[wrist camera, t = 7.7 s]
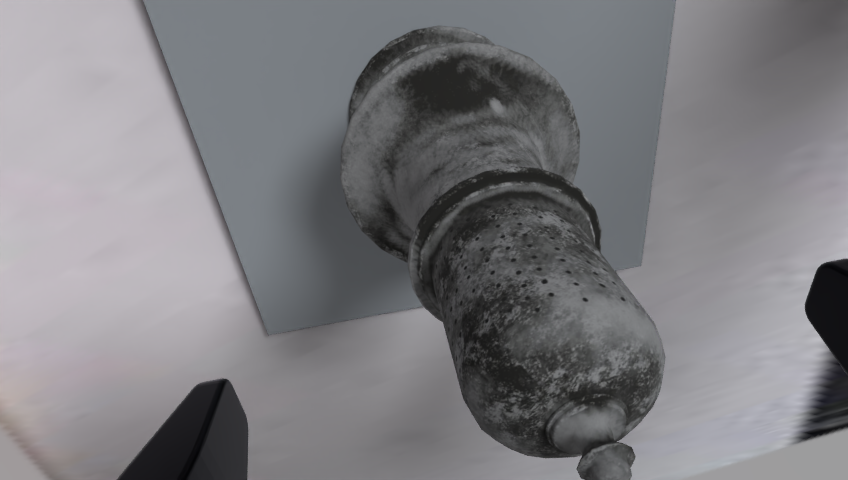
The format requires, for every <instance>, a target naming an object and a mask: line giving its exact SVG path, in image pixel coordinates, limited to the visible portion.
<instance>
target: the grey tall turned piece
mask: <svg viewBox="0 0 848 480" xmlns="http://www.w3.org/2000/svg"><path fill="white" fill-rule="evenodd" d="M579 156H580V131H579V127H578V123H577V120H576V116H575V112H574V109H573V105H572V103H571V101H570V100H569V98H568V97H567V95H566V93H565V92H564V90H563V89H562V87H561V86H560V84H559V83H558V81H557V79H556V78H555V77H553V76H552V75H551V74H550V73H549V72H547V71H546V70H545V69H544V68H542V67H541V66H540V65H539V64H538V63H536V62H535V61H534V60H533V59H532V58H530V57H528V56H525V55H523V54H520V53H518V52H515V51H513V50H510V49H508V48H505V47H503V46H500V45H495V44H494V43H492V42H491V41H490V40H489V39H488V38H486V37H484V36H482V35H480V34H477V33H475V32H472V31H470V30H467V29H465V28H459V27H449V26H439V25H438V26H433V27H427V28H422V29H417V30H413V31H411V32H408V33H406V34H404V35H402V36H400V37H398V38H396V39H394V40H392V41H390V42H389V43H388V44H387V45H386V46H385V47H383V48H382V49H381V50H380V51H379V52H378V53H377V54H375V55H374V56H373V57H372V58H371V59H370V61H369V62H368V64H367V65H366V67H365V68H364V70H363V71H362V73H361V74H360V76H359V78H358V79H357V82H356V85H355V88H354V91H353V94H352V97H351V100H350V110H349V125H348V128H347V131H346V134H345V137H344V140H343V143H342V146H341V167H340V181H341V184H342V188H343V192H344V196H345V200H346V204H347V207H348V209H349V211H350V212H351V214H352V216H353V217H354V219H355V221H356V222H357V224H358V226H359V227H360V229H361V231H362V232H363V233H364V234H365V235H366V236H368V237H369V238H370V239H371V240H372V241H373V242H374V243H375V244H376V245H377V246H378V247H379V248H380V249H382V250H383V251H385V252H387V253H389V254H391V255H393V256H395V257H397V258H398V259H400V260H402V261H404V262H406V263H408V270H409V275H410V279H411V284H412V289H413V290H414V292H415V294H416V295H417V297H418V299H419V300H420V302H421V304H422V305H423V307H425V308H426V309H427V310H428V311H429V312H430V313H431V314H432V315H433V316H435V317H436V318H437V319H438V320H440V321H442V322H443V324H444V327H445V331H446V335H447V339H448V343H449V346H450V350H451V354H452V358H453V361H454V365H455V369H456V373H457V377H458V380H459V384H460V388H461V392H462V395H463V399H464V401H465V403H466V404H467V406H468V408H469V410H470V411H471V413H472V415H473V416H474V418H475V420H476V421H477V423H478V424H479V426H480V428H481V429H482V430H483V431H484V432H486V433H487V434H488V435H490V436H491V437H492V438H493V439H495V440H496V441H498V442H499V443H501V444H503V445H504V446H506V447H508V448H510V449H512V450H514V451H517V452H519V453H522V454H524V455H527V456H534V457H541V458H564V457H577V456H582V458H581V459H580V462H579V464H578V467H577V471H578V473H579V475H580V477H581V478H582V479H584V480H630V478H631V476H632V474H631V469H630V468H631V466H632V464H633V462H634V459H635V454H634V452H633V449H632V447H630V446H628V445H625V444H623V443H619V442H617V441H619V440H620V439H622V438H623V437H624V436H625V435H627V434H628V433H629V432H630V431H631V430H633V429H634V428H635V427H636V426H637V425H638V424H639V423H640V422H641V421H642V419H643V418H644V417H645V416H646V415H647V413H648V412H649V411H650V410H651V408H652V407H653V405H654V403H655V401H656V399H657V397H658V395H659V392H660V388H661V383H662V377H663V370H664V362H665V354H664V350H663V346H662V342H661V339H660V336H659V334H658V331H657V329H656V326H655V324H654V322H653V321H652V319H651V318H650V317H649V315H648V314H647V313H646V311H645V310H644V309H643V307H642V306H641V305H640V303H639V302H638V301H637V299H636V298H635V297H634V296H633V294H632V293H631V292H630V290H629V289H628V288H627V286H626V285H625V284H624V283H623V281H622V280H621V279H620V277H619V276H618V275H617V273H616V272H615V271H614V269H613V268H612V267H611V266H610V264H609V263H608V262H607V260H606V259H605V258H604V256H603V255H602V254H601V226H600V223H599V220H598V216H597V213H596V210H595V208H594V207H593V205H592V204H591V203H590V201H589V200H588V198H587V197H586V195H585V194H584V193H583V191H582V190H581V189H579V188H578V187H577V186H575V185H574V184H573V182H574V178H575V175H576V171H577V168H578V164H579Z"/></svg>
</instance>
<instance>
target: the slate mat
mask: <svg viewBox="0 0 848 480" xmlns="http://www.w3.org/2000/svg"><path fill="white" fill-rule="evenodd" d="M143 2H144V4H145V7H146V10H147V12H148V15H149V18H150V20H151V23H152V26H153V28H154V31H155V34H156V36H157V39H158V42H159V44H160V47H161V50H162V52H163V55H164V58H165V60H166V63H167V66H168V68H169V71H170V74H171V76H172V79H173V82H174V84H175V87H176V90H177V92H178V95H179V98H180V100H181V103H182V106H183V109H184V111H185V114H186V117H187V119H188V122H189V125H190V127H191V130H192V133H193V135H194V138H195V141H196V143H197V146H198V149H199V151H200V154H201V157H202V159H203V162H204V165H205V167H206V170H207V173H208V175H209V178H210V181H211V183H212V186H213V189H214V191H215V194H216V197H217V199H218V202H219V205H220V207H221V210H222V213H223V215H224V218H225V221H226V223H227V226H228V229H229V231H230V234H231V237H232V239H233V242H234V245H235V247H236V250H237V253H238V255H239V258H240V261H241V263H242V266H243V269H244V271H245V274H246V277H247V280H248V282H249V285H250V288H251V290H252V293H253V296H254V298H255V301H256V304H257V306H258V309H259V312H260V314H261V317H262V320H263V322H264V325H265V328H266V330H267V333H268V335H272V334H277V333H283V332H288V331H293V330H299V329H304V328H310V327H315V326H320V325H326V324H331V323H336V322H342V321H347V320H353V319H358V318H363V317H369V316H374V315H380V314H385V313H390V312H396V311H401V310H406V309H412V308H417V307H423V305H422V304H421V302H420V300H419V299H418V297H417V295H416V294H415V292H414V290H413V289H412V284H411V279H410V275H409V270H408V263H406V262H404V261H402V260H400V259H398V258H397V257H395V256H393V255H391V254H389V253H387V252H385V251H383V250H382V249H380V248H379V247H378V246H377V245H376V244H375V243H374V242H373V241H372V240H371V239H370V238H369V237H368V236H366V235H365V234H364V233H363V232H362V231H361V229H360V227H359V226H358V224H357V222H356V221H355V219H354V217H353V216H352V214H351V212H350V211H349V209H348V207H347V204H346V200H345V196H344V192H343V188H342V184H341V181H340V167H341V146H342V143H343V140H344V137H345V134H346V131H347V128H348V125H349V110H350V100H351V97H352V94H353V91H354V88H355V85H356V82H357V79H358V78H359V76H360V74H361V73H362V71H363V70H364V68H365V67H366V65H367V64H368V62H369V61H370V59H371V58H372V57H373V56H374V55H375V54H377V53H378V52H379V51H380V50H381V49H382V48H383V47H385V46H386V45H387V44H388V43H389V42H390V41H392V40H394V39H396V38H398V37H400V36H402V35H404V34H406V33H408V32H411V31H413V30H417V29H422V28H427V27H433V26H438V25H439V26H449V27H459V28H465V29H467V30H470V31H472V32H475V33H477V34H480V35H482V36H484V37H486V38H488V39H489V40H490V41H491V42H492V43H494V44H495V45H500V46H503V47H505V48H508V49H510V50H513V51H515V52H518V53H520V54H523V55H525V56H528V57H530V58H532V59H533V60H534V61H535V62H536V63H538V64H539V65H540V66H541V67H542V68H544V69H545V70H546V71H547V72H549V73H550V74H551V75H552V76H553V77H555V78H556V79H557V81H558V83H559V84H560V86H561V87H562V89H563V90H564V92H565V93H566V95H567V97H568V98H569V100H570V101H571V103H572V105H573V109H574V112H575V116H576V120H577V123H578V127H579V131H580V156H579V164H578V168H577V171H576V175H575V178H574V182H573V184H574V185H575V186H577V187H578V188H579V189H581V190H582V191H583V193H584V194H585V195H586V197H587V198H588V200H589V201H590V203H591V204H592V205H593V207H594V208H595V210H596V213H597V216H598V220H599V223H600V226H601V254H602V255H603V256H604V258H605V259H606V260H607V262H608V263H609V264H610V266H611V267H612V268H613V269H614V271H617V270H622V269H627V268H633V267H638V266H641V263H642V255H643V248H644V240H645V232H646V225H647V217H648V209H649V202H650V194H651V187H652V179H653V171H654V164H655V156H656V148H657V141H658V133H659V125H660V118H661V110H662V102H663V95H664V87H665V80H666V72H667V64H668V57H669V49H670V41H671V34H672V26H673V18H674V11H675V3H676V0H143Z"/></svg>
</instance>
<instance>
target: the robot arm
mask: <svg viewBox="0 0 848 480" xmlns="http://www.w3.org/2000/svg"><path fill="white" fill-rule="evenodd" d="M805 312H806V315H807V318H808V319H809V321H810V323H811V324H812V325H813V327H814V328H815V330H816V331H817V332H818V334H819V335H820V337H821V338H822V340H823V341H824V342H825V344H826V345H827V347H828V348H829V349H830V351H831V352H832V354H833V355H834V357H835V358H836V359H837V361H838V362H839V364H840V365H841V366H842V368H843V369H844V371H845V372H846V374H847V375H848V259H841V260H836V261H831V262H826V263H824V264H822V265H821V266H820V267H819V268H818V269H817V271H816V274H815V276H814V279H813V282H812V285H811V288H810V291H809V293H808V296H807V299H806V302H805ZM247 466H248V423H247V418H246V415H245V412H244V410H243V408H242V406H241V403H240V401H239V399H238V397H237V395H236V393H235V390H234V388H233V386H232V384H231V383H230V381H229V380H227V379H217V380H212V381H207V382H202V383H199V384H198V385H196V386H195V387H194V388H193V389H192V390H191V392H190V393H189V394H188V395H187V396H186V398H185V399H184V400H183V401H182V402H181V404H180V405H179V406H178V407H177V408H176V410H175V411H174V412H173V413H172V414H171V415H170V417H169V418H168V419H167V420H166V421H165V423H164V424H163V425H162V426H161V427H160V429H159V430H158V431H157V432H156V433H155V435H154V436H153V437H152V438H151V439H150V440H149V442H148V443H147V444H146V445H145V446H144V448H143V449H142V450H141V451H140V452H139V454H138V455H137V456H136V457H135V458H134V460H133V461H132V462H131V463H130V464H129V466H128V467H127V468H126V469H125V470H124V471H123V473H122V474H121V475H120V476H119V477H118V479H117V480H247Z"/></svg>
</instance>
